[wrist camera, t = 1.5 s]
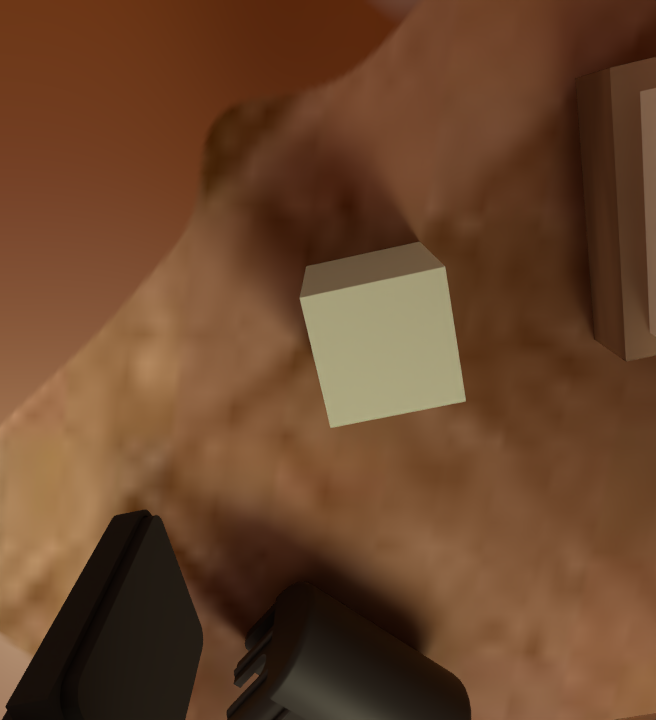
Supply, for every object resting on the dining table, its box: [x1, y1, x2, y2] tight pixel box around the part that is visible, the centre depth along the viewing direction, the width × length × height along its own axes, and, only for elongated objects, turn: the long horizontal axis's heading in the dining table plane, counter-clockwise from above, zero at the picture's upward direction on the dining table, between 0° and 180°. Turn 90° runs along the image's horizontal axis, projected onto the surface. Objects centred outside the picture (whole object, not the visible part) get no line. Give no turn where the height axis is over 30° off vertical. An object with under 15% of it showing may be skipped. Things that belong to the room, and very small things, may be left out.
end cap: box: [227, 582, 471, 720], centre depth 29 cm, size 10×7×7 cm
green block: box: [300, 242, 466, 428], centre depth 23 cm, size 5×5×6 cm
